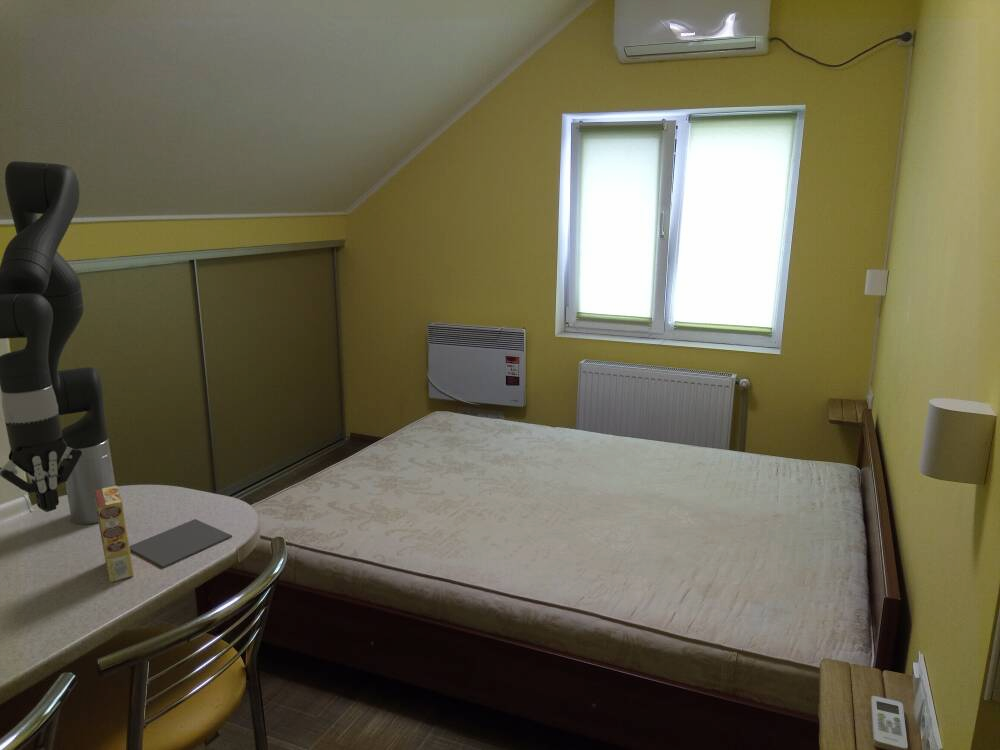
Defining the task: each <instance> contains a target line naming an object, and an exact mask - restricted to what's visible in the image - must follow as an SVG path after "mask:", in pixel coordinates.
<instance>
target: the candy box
mask: <svg viewBox="0 0 1000 750" xmlns="http://www.w3.org/2000/svg"><path fill="white" fill-rule="evenodd" d="M94 495H95V502H96V508H97V515H98V521H99V522H98V527H99V532H100V538H101V543H102V549H103V555H104V560H105V563H106V564H105V565H106V568H107V569H106V570H107V574H108V577H109V581H110V583H113V582H116V581H121V580H124V579H128V578H132V577H134V575H135V574H134V569H133V562H132V554H131V551H130V547H129V546H130V542H129V536H128V530H127V522H126V518H125V511H124V506H123V502H122V501H123V500H122V497H121V494H120V490H119V487H118V485H115V486H113V487H107V488H102V489H98V490H94Z"/></svg>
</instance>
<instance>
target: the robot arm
mask: <svg viewBox="0 0 1000 750" xmlns="http://www.w3.org/2000/svg"><path fill="white" fill-rule="evenodd" d="M4 185H5V192H6V196H7V200H8V206H9V209H10V213H11V218H12V220H13V225H14V228H15V233H16V235H15V236H14V237H13V238H12V239H11V240H10V241H9V242H8V243H7V246H6V248H5V249H4V252H3V255H2V258H1V262H0V340H2V339H4V340H5V339H19V338H20V339H21V338H23V339H26V344H25V347H24V348H23V349H22V348H21V349H18V350H14V351H9V352H7V353H4V354H2V355H0V391H1V408H2V412H3V416H4V423H5V429H6V434H7V438H8V444H9V446H10V447H9V448H10V451H9V454H8V461H7V462H6V463H5V464H4V465H3V466H2V467H0V477H2V478H3V479H4V480H6V481H8V482H9V483H10V484H13V486H15V487H17V488H18V489H21V490H22V491H25V492H26V493H28V494H32V493H34V494H35V501H36V506H37V507H38V508H39V509H40V510H42V511H43V512H45V513H48V512H52V511H55V510H57V506H59V504H60V500H59V495H58V486H59V485H60V484H62V483H65V489H66V495H67V500H68V501H67V502H68V507H69V514H70V520H71V521H72V522H73V523H75V524H79V525H89V524H91V525H92V524H96V523H99V521H98V515H97V508H96V502H95V495H94V490H98V489H102V488H107V487H113V486H116V480H115V474H114V467H113V461H112V453H111V448H110V442H109V441H110V440H109V436H108V435H109V434H108V430H107V424H106V422H107V421H106V416H105V409H104V407H105V406H104V395H103V386H102V385H103V383H102V380H101V376H100V373H99V372H98V371H97V369H95V367H92V366H88V367H79V368H71V369H63V370H58V368H59V362H60V358H61V356H62V353H63V350H64V348H65V345H66V344H67V343H68V342H69V339H70V338H71V336H72V335H73V333H74V331H75V330H76V328H77V326H78V325H79V323H80V321H81V319H82V317H83V313H84V300H83V291H82V286H81V281H80V278H79V276H78V275H77V273H76V271H75V270H74V268H72V266H71V265H70V264H69V262H67V260H65V258H64V257H63V256H62V255H61V254H60V252H58V248H59V247H60V245H61V242H62V240H63V238H64V236H65V235H66V233H67V231H68V229H69V227H70V224H72V221H73V219H74V216H75V214H76V212H77V209H78V206H79V202H80V184H79V180H78V177H77V173H75V171H74V169H73V168H72V167H70V166H68V165H65V164H59V163H58V164H57V163H49V162H36V161H35V162H34V161H22V160H21V161H20V160H17V161H15V160H14V161H10V162H9V163H8V164H7V166H6V168H5V173H4ZM37 214H38V215H39V214H41V216H39V218H38V216H37ZM82 412H84V413H85V412H86V413H85V414H84V416H82V417H81V418H80V419H78V420H77V421H75V422H73V423H72V424H70V425H68V426H66V427H64V428H62V424H61V420H60V416H64V415H72V414H78V413H82ZM16 467H18V468H19V469H21V471H23V472H24V473H26V474H27V477H28V478H29V481H30V482H27V481H25V480H24V479H22V478H21V477H20V476H18V475H17V474H18V470H17V468H16Z"/></svg>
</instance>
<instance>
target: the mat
mask: <svg viewBox="0 0 1000 750" xmlns="http://www.w3.org/2000/svg"><path fill="white" fill-rule="evenodd" d="M231 538H233V535H232V534H230V533H227V532H225V531H224V530H221V529H219V528H216V527H214V526H211V525H210V524H207V523H205V522H203V521H201V520H198V519H196V518H194V519H192V520H191V519H190V521H186V522H184V523H181V524H180V525H178V526H174V527H172V528H170V529H167V530H165V531H163V532H161V533H157V534H155V535H153V536H151V537H148V538H146V539H143V540H141V541H138V542H136V543H134V544H131V545H129V547H130V552H132V553H134V554H136V555H137V556H139V557H141V558H142V559H143V558H144V559H146V560H147V561H149V562H151V563H153V564H154V565H157V566H159V567H160V568H162V569H165V568H167V567H169V566H171V565H174V564H176V563H178V562H181V561H182V560H185V559H188V558H189V557H191V556H194V555H196V554H198V553H201V552H202V551H205V550H208V549H209V548H211V547H213V546H216V545H218V544H220V543H223V542H224V541H226V540H228V539H231Z"/></svg>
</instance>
